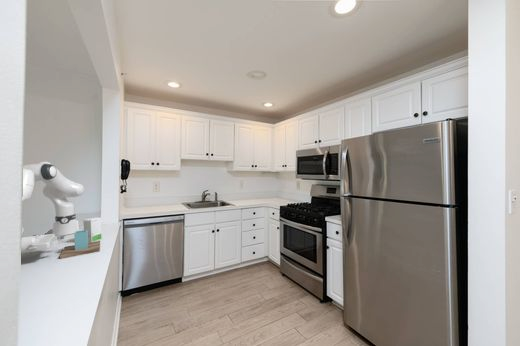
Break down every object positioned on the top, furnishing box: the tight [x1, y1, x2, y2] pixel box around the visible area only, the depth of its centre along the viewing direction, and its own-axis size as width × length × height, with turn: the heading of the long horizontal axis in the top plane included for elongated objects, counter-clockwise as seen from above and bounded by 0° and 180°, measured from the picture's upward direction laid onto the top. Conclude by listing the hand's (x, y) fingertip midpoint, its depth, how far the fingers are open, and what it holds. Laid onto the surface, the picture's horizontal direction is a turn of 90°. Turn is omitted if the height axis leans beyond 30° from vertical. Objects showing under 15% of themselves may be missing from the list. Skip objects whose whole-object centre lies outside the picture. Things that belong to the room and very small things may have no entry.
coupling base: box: [59, 240, 101, 260], centre depth 138 cm, size 18×18×10 cm
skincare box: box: [83, 217, 103, 243], centre depth 154 cm, size 8×7×16 cm
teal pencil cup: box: [73, 229, 88, 250], centre depth 138 cm, size 6×6×10 cm
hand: (63, 239), depth 133 cm, fingers open, 8 cm apart
